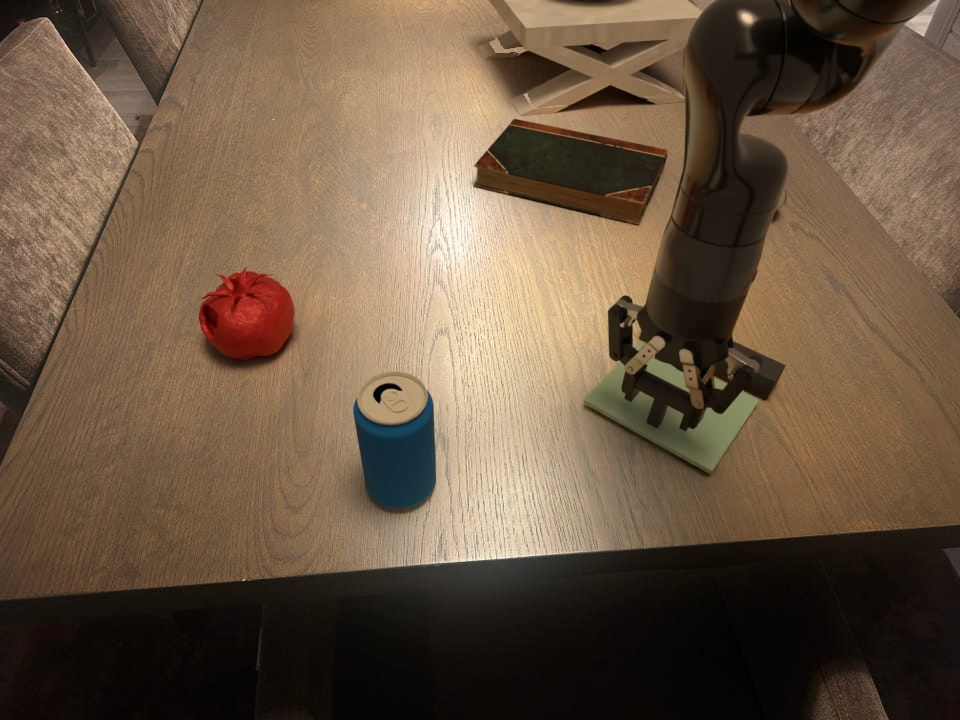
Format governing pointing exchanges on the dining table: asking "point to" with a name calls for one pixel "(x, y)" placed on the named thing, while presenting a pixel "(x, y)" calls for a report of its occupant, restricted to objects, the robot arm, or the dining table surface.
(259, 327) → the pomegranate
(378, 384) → the beverage can
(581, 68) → the wooden side table
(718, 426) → the sign
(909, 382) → the dining table surface
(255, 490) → the dining table surface
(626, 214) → the book
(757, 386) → the stand
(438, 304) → the dining table surface
